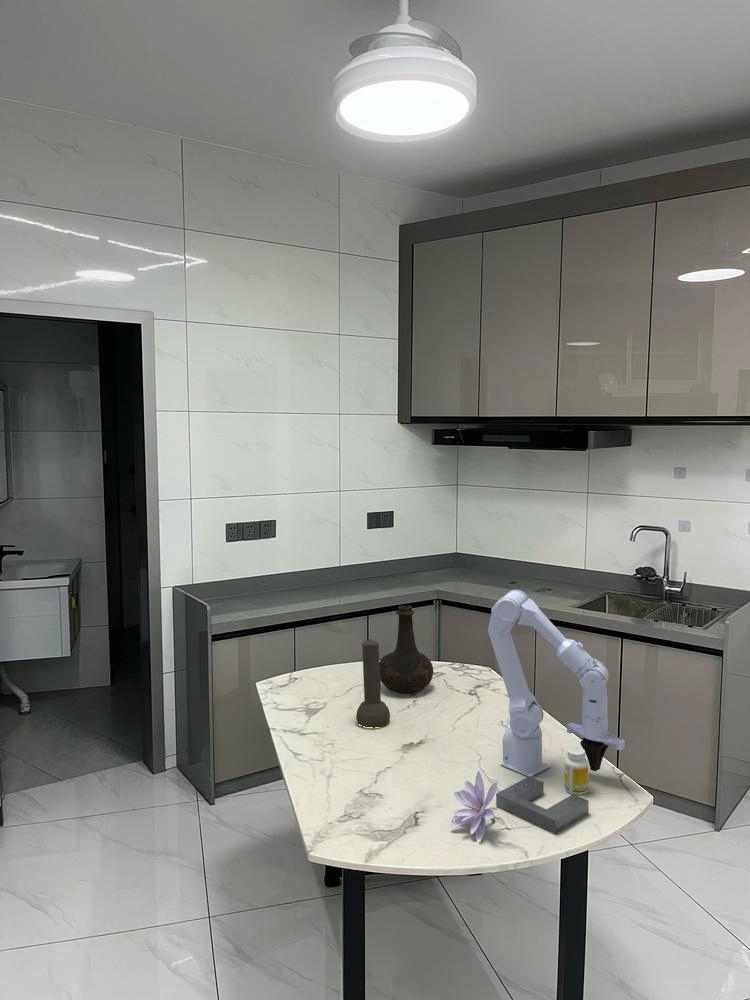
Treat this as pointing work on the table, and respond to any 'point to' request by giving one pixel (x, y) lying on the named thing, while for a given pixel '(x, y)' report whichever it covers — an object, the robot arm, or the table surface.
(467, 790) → the water lily
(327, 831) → the table surface
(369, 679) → the flashlight
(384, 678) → the glass bottle
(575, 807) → the grey u-shaped block
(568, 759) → the supplement bottle
